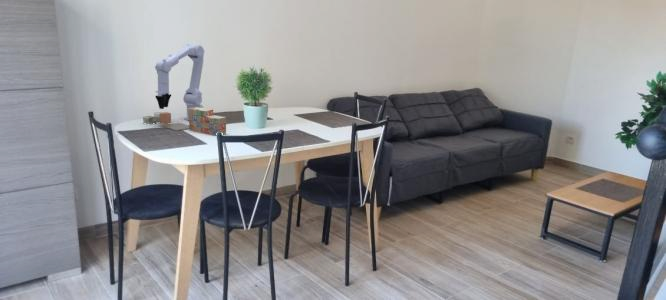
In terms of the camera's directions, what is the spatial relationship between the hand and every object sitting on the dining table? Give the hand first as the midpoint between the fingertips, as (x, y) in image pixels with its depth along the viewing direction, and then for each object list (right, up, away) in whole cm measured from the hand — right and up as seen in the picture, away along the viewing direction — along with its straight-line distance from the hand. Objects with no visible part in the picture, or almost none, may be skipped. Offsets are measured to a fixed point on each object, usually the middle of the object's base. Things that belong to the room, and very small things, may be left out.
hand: (163, 107), depth 268 cm
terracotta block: (-2, -8, +9) cm, 12 cm away
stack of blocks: (+27, -14, -10) cm, 32 cm away
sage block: (-10, -8, +7) cm, 15 cm away
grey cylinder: (-7, -7, +13) cm, 16 cm away
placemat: (+8, -11, -1) cm, 13 cm away
